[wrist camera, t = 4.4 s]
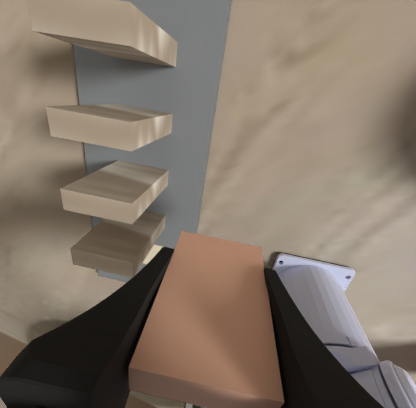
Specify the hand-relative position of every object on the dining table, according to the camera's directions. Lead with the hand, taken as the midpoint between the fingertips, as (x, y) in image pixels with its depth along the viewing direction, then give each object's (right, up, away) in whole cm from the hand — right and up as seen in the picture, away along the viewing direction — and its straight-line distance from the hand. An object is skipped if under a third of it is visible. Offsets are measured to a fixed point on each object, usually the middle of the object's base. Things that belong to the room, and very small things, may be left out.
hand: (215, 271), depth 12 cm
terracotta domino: (0, +1, +2) cm, 2 cm away
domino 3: (-7, +7, +9) cm, 13 cm away
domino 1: (-5, +16, +4) cm, 17 cm away
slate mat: (-7, +7, +9) cm, 14 cm away
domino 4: (-7, +2, +11) cm, 14 cm away
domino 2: (-6, +11, +7) cm, 14 cm away
